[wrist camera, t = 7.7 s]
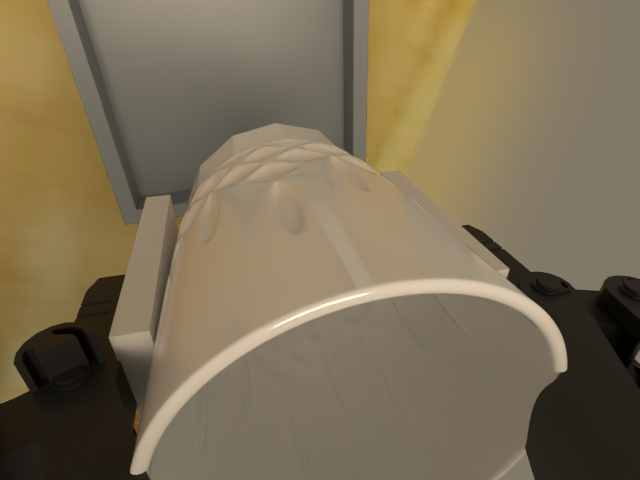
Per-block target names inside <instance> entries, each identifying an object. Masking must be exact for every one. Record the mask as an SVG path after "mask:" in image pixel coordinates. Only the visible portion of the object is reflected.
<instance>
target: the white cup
mask: <svg viewBox="0 0 640 480" xmlns="http://www.w3.org/2000/svg"><path fill="white" fill-rule="evenodd" d="M566 370H567V351H566V346H565V342H564V339H563V337H562V334H561V332H560V330H559V328H558V327H557V325H556V324H555V322H554V321H553V319H552V318H551V317H550V316H549V315H548V314H547V312H546V311H545V310H543V309H542V308H541V307H540V306H539V305H538V304H537V303H535V302H534V301H533V300H532V299H531V298H529V297H528V296H527V295H526V294H524V293H523V292H522V291H521V290H520V289H518V288H517V287H516V286H515V285H514V284H513V283H511V282H510V281H509V280H508V279H507V278H505V277H504V276H503V275H502V274H501V273H499V272H498V271H497V270H496V269H495V268H493V267H492V266H491V265H490V264H489V263H487V262H486V261H485V260H484V259H483V258H482V257H480V256H479V255H478V254H477V253H476V252H474V251H473V250H472V249H471V248H469V247H468V246H467V245H466V244H465V243H464V242H462V241H461V240H460V239H459V238H458V237H456V236H455V235H454V234H453V233H452V232H451V231H449V230H448V229H447V228H446V227H445V226H443V225H442V224H441V223H440V222H439V221H438V220H436V219H435V218H434V217H433V216H432V215H431V214H429V213H428V212H427V211H426V210H425V209H424V208H423V207H421V206H420V205H419V204H418V203H417V202H416V201H415V200H413V199H412V198H411V197H409V196H408V195H407V194H405V193H404V192H403V191H401V190H400V189H398V188H397V187H395V186H394V185H393V184H392V183H391V182H390V181H389V180H387V179H386V178H385V177H384V176H382V175H381V174H379V173H378V172H377V171H375V170H374V169H373V168H372V167H370V166H369V165H368V164H367V163H365V162H364V161H363V160H361V159H359V158H357V157H354V156H352V155H351V154H350V153H348V152H347V151H346V150H344V149H343V148H342V147H340V146H339V145H338V144H336V143H335V142H334V141H332V140H331V139H330V138H328V137H327V136H326V135H324V134H323V133H322V132H320V131H319V130H316V129H310V128H304V127H298V126H292V125H286V124H280V123H274V124H270V125H267V126H264V127H260V128H257V129H253V130H250V131H247V132H243V133H240V134H237V135H233V136H232V137H231V138H230V139H228V140H227V141H226V142H225V143H224V144H223V145H222V146H221V147H220V148H219V149H218V150H217V151H215V152H214V153H213V154H212V155H211V156H210V157H209V158H208V159H207V160H206V161H205V162H204V163H202V164H201V166H200V168H199V171H198V174H197V176H196V179H195V182H194V185H193V188H192V191H191V194H190V197H189V199H188V202H187V206H186V212H185V214H184V216H183V218H182V221H181V225H180V229H179V233H178V237H177V243H176V246H175V251H174V255H173V259H172V264H171V268H170V274H169V277H168V279H167V283H166V288H165V293H164V298H163V304H162V309H161V314H160V319H159V324H158V329H157V335H156V340H155V345H154V351H153V356H152V361H151V366H150V372H149V377H148V382H147V387H146V392H145V397H144V402H143V407H142V412H141V417H140V422H139V427H138V432H137V437H136V442H135V447H134V452H133V457H132V462H131V467H130V473H131V474H133V475H138V474H142V473H143V472H145V471H146V472H147V474H148V476H149V477H150V479H151V480H499V479H500V478H501V477H502V476H503V475H504V474H505V473H506V472H508V471H509V470H510V469H511V468H512V467H513V466H514V465H515V464H516V463H517V462H518V461H519V460H520V459H521V458H522V457H523V456H524V454H526V449H525V446H526V441H527V435H528V428H529V422H530V417H531V413H532V410H533V407H534V404H535V401H536V399H537V397H538V396H539V394H540V393H541V391H542V390H543V389H544V388H545V387H546V386H547V385H549V384H550V383H552V382H553V381H554V380H555V379H556V378H557V377H558V376H559V374H560V373H561V372H565V371H566Z"/></svg>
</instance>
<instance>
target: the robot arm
mask: <svg viewBox="0 0 640 480" xmlns="http://www.w3.org/2000/svg"><path fill="white" fill-rule="evenodd" d="M380 174H381V175H382V176H384V177H385V178H386V179H387V180H389V181H390V182H391V183H392V184H393V185H394V186H395V187H397V188H398V189H400V190H401V191H403V192H404V193H405V194H407V195H408V196H409V197H411V198H412V199H413V200H415V201H416V202H417V203H418V204H419V205H420V206H421V207H423V208H424V209H425V210H426V211H427V212H428V213H429V214H431V215H432V216H433V217H434V218H435V219H436V220H438V221H439V222H440V223H441V224H442V225H443V226H445V227H446V228H447V229H448V230H449V231H451V232H452V233H453V234H454V235H455V236H456V237H458V238H459V239H460V240H461V241H462V242H464V243H465V244H466V245H467V246H468V247H469V248H471V249H472V250H473V251H474V252H476V253H477V254H478V255H479V256H480V257H482V258H483V259H484V260H485V261H486V262H487V263H489V264H490V265H491V266H492V267H493V268H495V269H496V270H497V271H498V272H499V273H501V274H502V275H503V276H504V277H505V278H507V279H508V280H509V281H510V282H511V283H513V284H514V285H515V286H516V287H517V288H518V289H520V290H521V291H522V292H523V293H524V294H526V295H527V296H528V297H529V298H531V299H532V300H533V301H534V302H535V303H537V304H538V305H539V306H540V307H541V308H542V309H543V310H545V311H546V312H547V314H548V315H549V316H550V317H551V318H552V319H553V321H554V322H555V324H556V325H557V327H558V328H559V330H560V332H561V334H562V337H563V339H564V342H565V346H566V351H567V370H566V371H565V372H561V373H560V374H559V376H558V377H557V378H556V379H555V380H554V381H553V382H552V383H550V384H549V385H547V386H546V387H545V388H544V389H543V390H542V391H541V393H540V394H539V396H538V397H537V399H536V401H535V404H534V407H533V410H532V413H531V417H530V422H529V428H528V435H527V441H526V446H525V449H526V453H527V456H528V459H529V462H530V466H531V469H532V472H533V475H534V479H535V480H640V364H639V363H638V362H637V361H636V360H635V357H636V355H637V354H638V352H639V350H640V279H638V278H632V277H629V276H612V277H608V278H607V279H606V280H605V281H604V283H603V285H602V287H601V290H600V291H590V290H575V289H574V288H573V287H572V286H571V285H570V284H569V283H568V282H567V281H565V280H563V279H562V278H560V277H557V276H555V275H552V274H549V273H543V272H530V271H529V270H528V269H527V268H525V267H524V266H523V265H522V264H521V263H519V262H518V261H517V260H516V259H515V258H514V257H512V256H511V255H510V254H509V253H508V252H506V251H505V250H504V249H503V250H502V247H500V246H499V245H498V244H497V243H496V242H493V240H492V239H491V238H490V237H489V236H487V235H486V234H485V233H483V232H482V231H480V230H478V229H476V228H474V227H472V226H470V225H463V226H461V225H460V224H459V223H457V222H456V221H455V220H454V219H453V218H452V217H451V216H450V215H448V214H447V213H446V212H445V211H444V210H443V209H442V208H441V207H439V206H438V205H437V204H436V203H435V202H434V201H433V200H432V199H430V198H429V197H428V196H427V195H426V194H425V193H424V192H422V191H421V190H420V189H419V188H418V187H417V186H416V185H415V184H414V183H412V182H411V181H410V180H409V179H408V178H407V177H406V176H405V175H403V174H402V173H401V172H400V171H391V172H381V173H380ZM178 233H179V232H178V228H177V223H176V219H175V214H174V210H173V205H172V201H171V196H170V195H163V196H153V197H146V200H145V204H144V208H143V212H142V215H141V219H140V223H139V226H138V230H137V234H136V238H135V241H134V245H133V249H132V252H131V256H130V260H129V264H128V267H127V271H126V274H125V275H118V276H111V277H104V278H99V279H98V280H97V281H96V282H95V283H94V284H93V285H92V286H91V287H90V288H89V289H88V290H87V291H86V294H85V296H84V299H83V302H82V304H81V305H82V307H80V309H79V312H78V315H77V319H76V320H75V322H68V323H62V324H59V325H55V326H51V327H49V328H47V329H45V330H43V331H41V332H39V333H37V334H35V335H34V336H33V337H31V338H30V339H29V340H27V341H26V342H25V343H24V344H23V345H22V346H21V347H20V349H19V350H18V351H17V353H16V355H15V359H14V365H15V367H16V368H17V370H18V372H19V373H20V375H21V377H22V378H23V380H24V382H25V383H26V385H27V387H28V388H29V390H30V391H29V392H27V393H25V394H22V395H20V396H18V397H16V398H14V399H11V400H9V401H7V402H4V403H2V404H0V480H151V479H150V477H149V476H148V474H147V472H146V471H145V472H143V473H142V474H138V475H133V474H131V473H130V467H131V462H132V457H133V452H134V447H135V442H136V437H137V433H136V431H135V428H134V422H135V415H136V409H137V411H138V413H139V416H140V417H141V412H142V407H143V402H144V397H145V392H146V387H147V382H148V377H149V372H150V366H151V361H152V356H153V351H154V345H155V340H156V335H157V329H158V324H159V319H160V314H161V309H162V304H163V298H164V293H165V288H166V283H167V279H168V277H169V274H170V268H171V264H172V259H173V255H174V251H175V246H176V243H177V237H178Z"/></svg>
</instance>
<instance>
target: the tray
mask: <svg viewBox="0 0 640 480" xmlns="http://www.w3.org/2000/svg"><path fill="white" fill-rule="evenodd" d="M47 2H48V5H49V8H50V11H51V14H52V17H53V19H54V22H55V25H56V28H57V31H58V34H59V37H60V39H61V42H62V45H63V48H64V51H65V54H66V57H67V59H68V62H69V65H70V68H71V71H72V74H73V76H74V79H75V82H76V85H77V88H78V91H79V94H80V96H81V99H82V102H83V105H84V108H85V111H86V114H87V116H88V119H89V122H90V125H91V128H92V131H93V134H94V136H95V139H96V142H97V145H98V148H99V151H100V153H101V156H102V159H103V162H104V165H105V168H106V171H107V173H108V176H109V179H110V182H111V185H112V188H113V191H114V193H115V196H116V199H117V202H118V205H119V208H120V211H121V213H122V216H123V219H124V222H125V225H127V224H134V223H140V219H141V215H142V212H143V208H144V204H145V200H146V197H153V196H163V195H170V196H171V201H172V205H173V210H174V214H175V217H180V216H184V214H185V212H186V206H187V202H188V199H189V197H190V194H191V191H192V188H193V185H194V182H195V179H196V176H197V174H198V171H199V168H200V166H201V164H202V163H204V162H205V161H206V160H207V159H208V158H209V157H210V156H211V155H212V154H213V153H214V152H215V151H217V150H218V149H219V148H220V147H221V146H222V145H223V144H224V143H225V142H226V141H227V140H228V139H230V138H231V137H232V136H233V135H237V134H240V133H243V132H247V131H250V130H253V129H257V128H260V127H264V126H267V125H270V124H274V123H280V124H286V125H292V126H298V127H304V128H310V129H316V130H319V131H320V132H322V133H323V134H324V135H326V136H327V137H328V138H330V139H331V140H332V141H334V142H335V143H336V144H338V145H339V146H340V147H342V148H343V149H344V150H346V151H347V152H348V153H350V154H351V155H352V156H354V157H357V158H359V159H361V160H363V161H364V162H365V163H366V120H367V71H368V22H369V0H47Z"/></svg>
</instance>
